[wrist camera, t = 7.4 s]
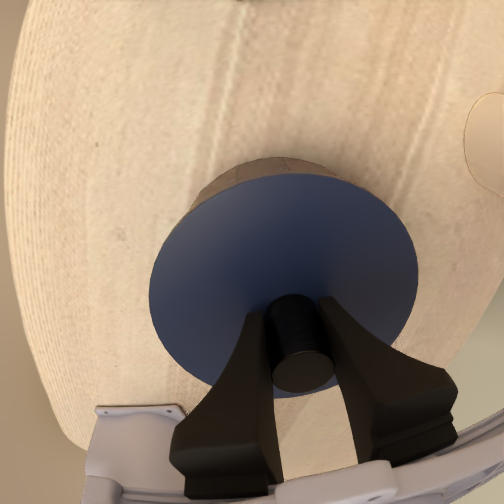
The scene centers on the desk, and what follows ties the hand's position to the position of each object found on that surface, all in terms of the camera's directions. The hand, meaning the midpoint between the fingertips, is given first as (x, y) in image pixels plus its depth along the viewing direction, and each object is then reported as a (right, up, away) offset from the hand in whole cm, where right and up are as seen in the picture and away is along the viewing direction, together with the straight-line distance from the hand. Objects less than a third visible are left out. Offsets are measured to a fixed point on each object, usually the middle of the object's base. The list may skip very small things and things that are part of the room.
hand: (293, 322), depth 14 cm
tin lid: (0, 0, +1) cm, 1 cm away
